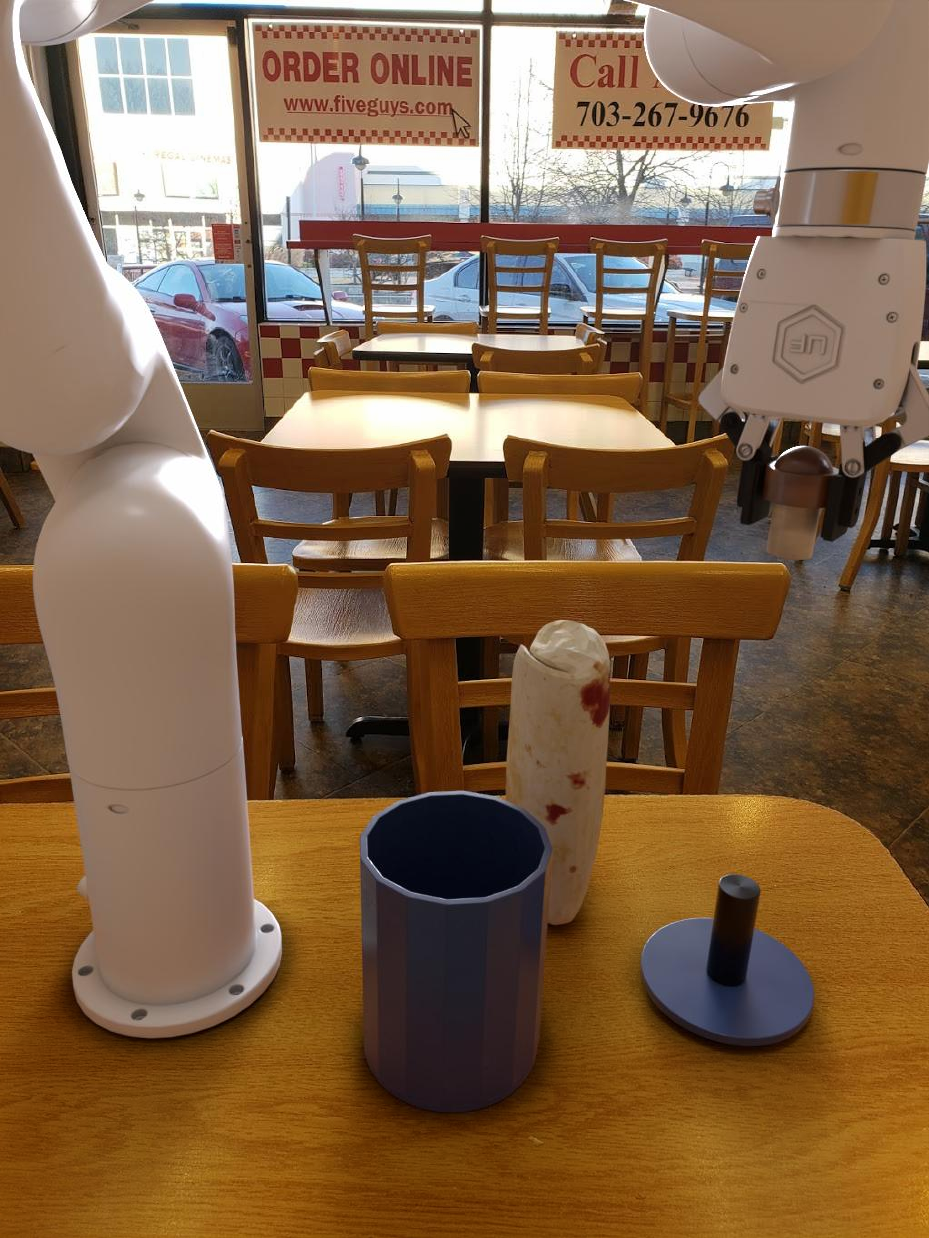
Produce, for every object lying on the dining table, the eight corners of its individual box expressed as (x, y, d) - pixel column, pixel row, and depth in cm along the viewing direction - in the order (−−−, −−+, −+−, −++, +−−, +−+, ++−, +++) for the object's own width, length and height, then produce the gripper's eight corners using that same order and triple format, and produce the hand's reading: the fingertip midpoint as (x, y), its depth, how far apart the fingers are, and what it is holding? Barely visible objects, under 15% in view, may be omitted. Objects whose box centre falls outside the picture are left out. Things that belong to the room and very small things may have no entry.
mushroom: (742, 553, 59) (758, 446, 57) (768, 539, 62) (784, 437, 60) (811, 569, 57) (831, 457, 54) (835, 553, 60) (854, 447, 58)
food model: (607, 938, 63) (634, 665, 55) (507, 939, 62) (521, 664, 55) (584, 851, 72) (604, 606, 64) (497, 851, 71) (507, 605, 64)
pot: (327, 1048, 53) (319, 849, 48) (439, 954, 61) (442, 772, 56) (465, 1147, 48) (472, 932, 43) (570, 1030, 55) (586, 835, 50)
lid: (608, 996, 58) (619, 893, 55) (683, 911, 65) (696, 816, 63) (773, 1085, 52) (795, 974, 49) (834, 979, 60) (855, 878, 57)
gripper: (677, 207, 54) (644, 514, 61) (1001, 208, 45) (920, 571, 51) (729, 214, 60) (693, 495, 66) (1027, 216, 50) (951, 543, 57)
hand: (793, 525), depth 59 cm, fingers closed on mushroom, 4 cm apart
